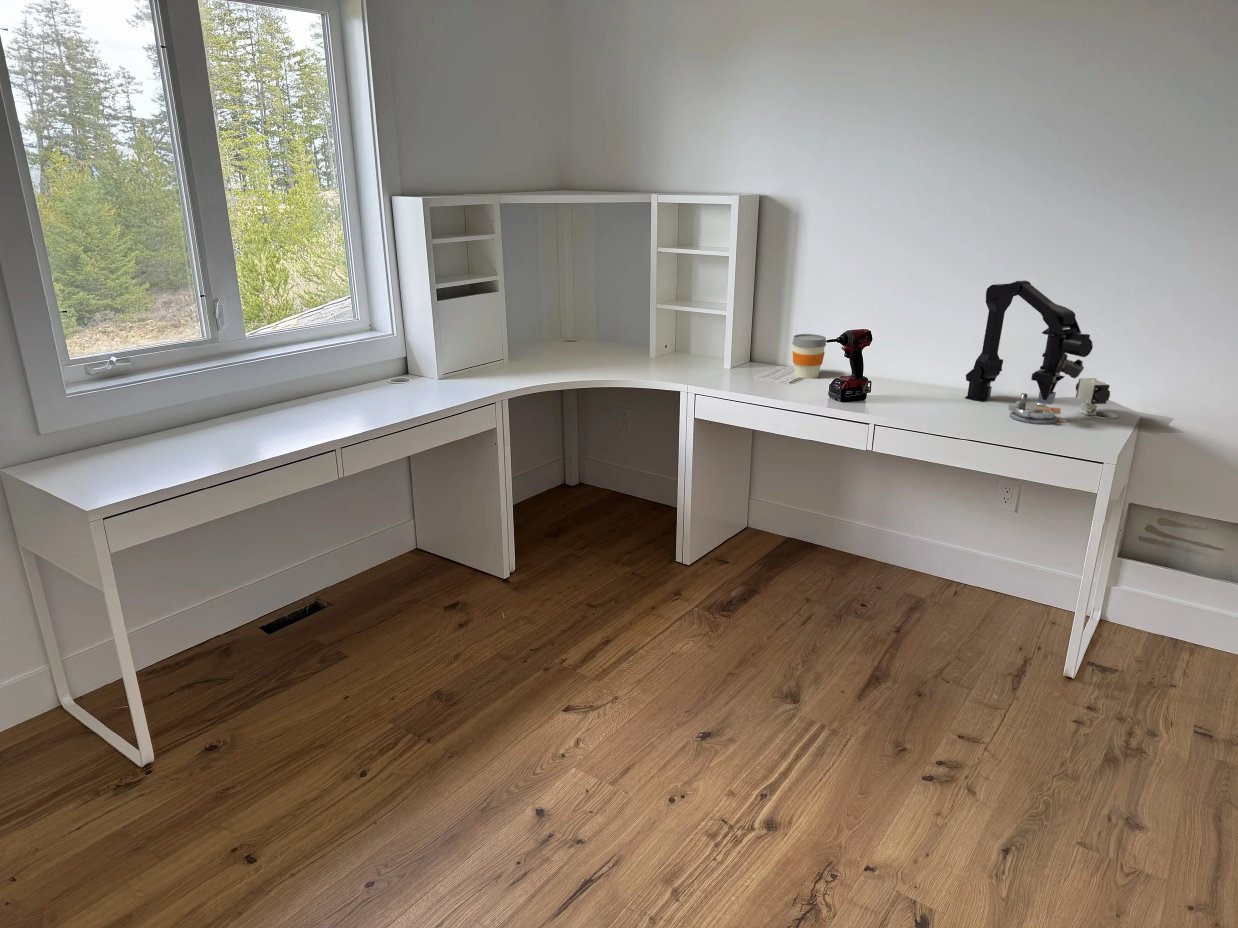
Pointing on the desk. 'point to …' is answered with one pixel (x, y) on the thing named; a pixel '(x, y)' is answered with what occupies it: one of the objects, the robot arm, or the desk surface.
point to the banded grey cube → (1049, 400)
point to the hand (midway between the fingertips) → (1046, 398)
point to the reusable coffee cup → (808, 354)
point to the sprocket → (1033, 409)
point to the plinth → (1034, 421)
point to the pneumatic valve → (1092, 394)
